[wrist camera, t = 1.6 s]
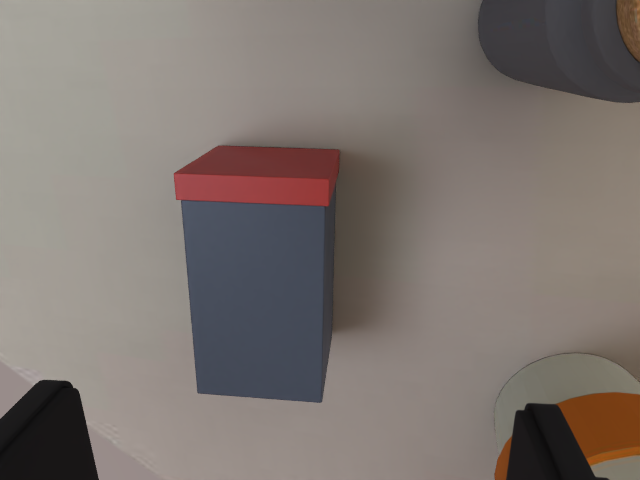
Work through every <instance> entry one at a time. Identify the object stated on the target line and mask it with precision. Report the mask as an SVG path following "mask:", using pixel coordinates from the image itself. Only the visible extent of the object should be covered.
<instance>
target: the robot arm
mask: <svg viewBox="0 0 640 480" xmlns="http://www.w3.org/2000/svg"><path fill="white" fill-rule="evenodd" d="M0 480H99V479H98V474H97V470H96V465H95V461H94V457H93V452H92V447H91V443H90V439H89V434H88V429H87V425H86V420H85V416H84V411H83V407H82V402H81V398H80V394H79V391H78V390H77V389H76V388H73V386H72V384H71V383H70V382H68V381H57V380H41V381H39V382H38V383H36V384H35V385H34V386H33V387H32V388H31V389H30V390H29V391H28V392H27V393H26V394H25V395H24V396H23V397H22V398H21V399H20V400H19V401H18V402H17V403H16V404H15V405H14V406H13V407H12V408H11V409H10V410H9V411H8V412H7V413H6V414H5V415H4V416H3V417H2V418H1V419H0ZM506 480H609V479H608V478H604V477H595V475H594V473H593V471H592V469H591V467H590V465H589V463H588V461H587V459H586V458H585V456H584V454H583V452H582V450H581V448H580V446H579V444H578V442H577V440H576V438H575V436H574V434H573V432H572V430H571V428H570V426H569V424H568V423H567V421H566V419H565V417H564V415H563V413H562V411H561V409H560V408H559V406H558V405H556V404H540V403H527V404H526V406H525V409H524V410H517V411H516V413H515V418H514V426H513V433H512V440H511V447H510V454H509V462H508V469H507V476H506Z"/></svg>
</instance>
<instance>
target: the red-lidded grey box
mask: <svg viewBox="0 0 640 480" xmlns="http://www.w3.org/2000/svg"><path fill="white" fill-rule="evenodd" d="M339 155H340V150H335V149H305V148H274V147H244V146H217V147H215V148H214V149H212V150H211V151H209V152H207V153H206V154H204V155H203V156H201V157H199V158H198V159H196V160H195V161H193V162H191V163H190V164H188V165H186V166H185V167H183V168H182V169H180V170H178V171H177V172H175V173H174V181H175V192H176V200H181V205H182V216H183V228H184V240H185V251H186V263H187V275H188V287H189V298H190V310H191V322H192V333H193V345H194V357H195V368H196V380H197V392H198V393H201V394H214V395H227V396H240V397H253V398H266V399H279V400H292V401H305V402H317V403H321V402H322V399H323V392H324V385H325V378H326V372H327V365H328V358H329V352H330V345H331V338H332V316H333V277H334V239H335V200H336V179H337V176H338V173H339Z"/></svg>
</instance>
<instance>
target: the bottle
mask: <svg viewBox="0 0 640 480" xmlns="http://www.w3.org/2000/svg"><path fill="white" fill-rule="evenodd" d="M478 31H479V39H480V43H481V46H482V49H483V51H484V53H485V55H486V57H487V58H488V60H489V61H490V62H491V64H492V65H493V66H494V67H495V68H496V69H497V70H499V71H500V72H501V73H503V74H505V75H506V76H509V77H511V78H513V79H515V80H518V81H522V82H526V83H530V84H533V85H537V86H541V87H546V88H550V89H555V90H559V91H563V92H568V93H572V94H577V95H581V96H585V97H590V98H595V99H601V100H606V101H612V102H622V103H632V102H640V0H483V1H482V4H481V7H480V12H479V19H478Z"/></svg>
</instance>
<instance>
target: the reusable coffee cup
mask: <svg viewBox="0 0 640 480" xmlns="http://www.w3.org/2000/svg"><path fill="white" fill-rule="evenodd" d="M527 403H540V404H556V405H558V406H559V408H560V409H561V411H562V413H563V415H564V417H565V419H566V421H567V423H568V424H569V426H570V428H571V430H572V432H573V434H574V436H575V438H576V440H577V442H578V444H579V446H580V448H581V450H582V452H583V454H584V456H585V458H586V459H587V461H588V463H589V465H590V467H591V469H592V471H593V473H594V475H595V477H604V478H608V479H609V480H640V382H639V381H638V380H636V379H635V378H634V377H633V376H632V375H631V374H630V373H629V372H627V371H626V370H625V369H624V368H622V367H621V366H620V365H618V364H616V363H614V362H612V361H610V360H608V359H606V358H602V357H599V356H595V355H591V354H580V353H570V354H559V355H555V356H551V357H546V358H543V359H541V360H539V361H536V362H534V363H531V364H530V365H528V366H526V367H525V368H523V369H522V370H520V371H519V372H518V373H516V374H515V375H514V376H513V377H512V378H511V379H510V380H509V381H508V382H507V383H506V385H505V386H504V387H503V389H502V390H501V392H500V394H499V396H498V399H497V401H496V405H495V410H494V424H495V432H496V439H497V447H498V454H499V457H498V461H497V465H496V470H495V480H506V476H507V469H508V462H509V454H510V447H511V440H512V433H513V426H514V418H515V413H516V411H517V410H524V409H525V406H526V404H527Z"/></svg>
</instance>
